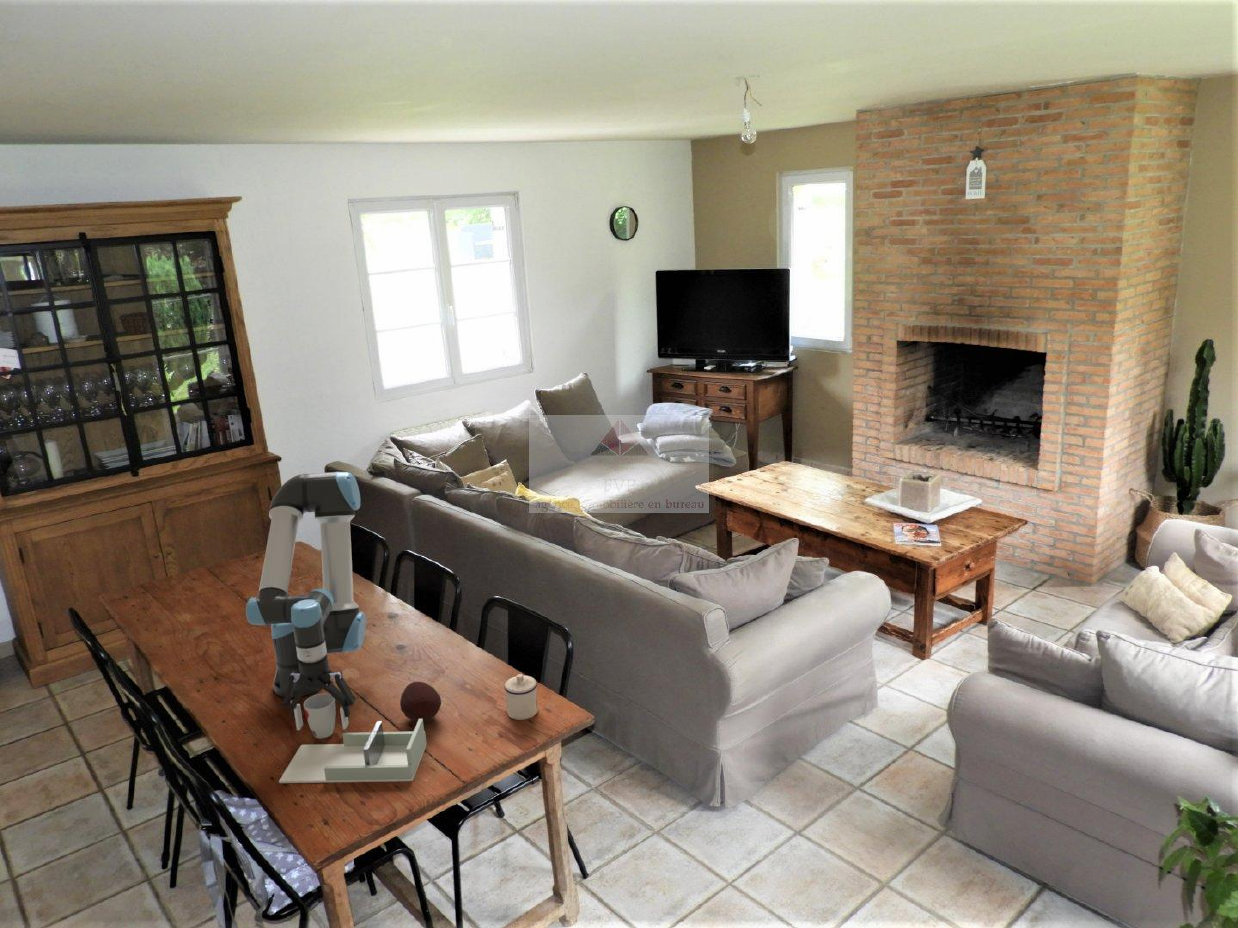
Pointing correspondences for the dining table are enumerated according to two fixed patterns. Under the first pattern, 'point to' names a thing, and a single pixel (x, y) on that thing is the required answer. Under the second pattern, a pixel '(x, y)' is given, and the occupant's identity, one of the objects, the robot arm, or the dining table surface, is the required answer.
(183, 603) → the dining table surface
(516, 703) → the teacup with lid
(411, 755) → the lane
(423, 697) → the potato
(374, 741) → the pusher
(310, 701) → the cup
